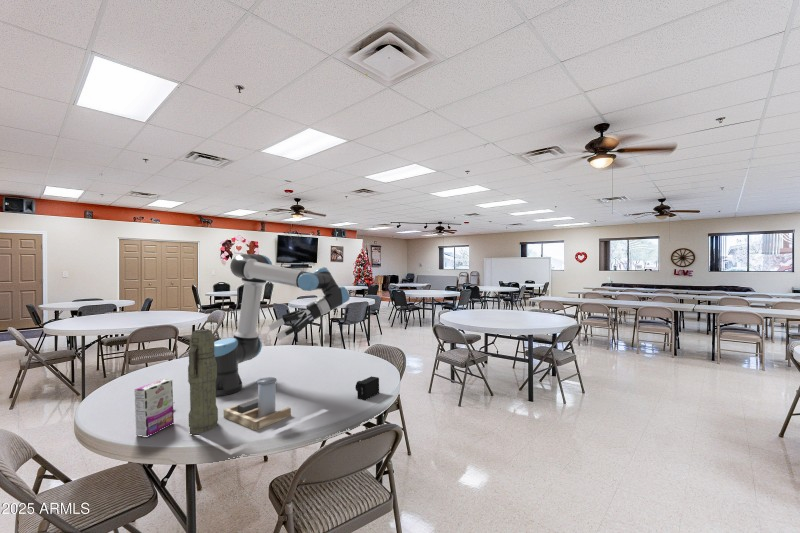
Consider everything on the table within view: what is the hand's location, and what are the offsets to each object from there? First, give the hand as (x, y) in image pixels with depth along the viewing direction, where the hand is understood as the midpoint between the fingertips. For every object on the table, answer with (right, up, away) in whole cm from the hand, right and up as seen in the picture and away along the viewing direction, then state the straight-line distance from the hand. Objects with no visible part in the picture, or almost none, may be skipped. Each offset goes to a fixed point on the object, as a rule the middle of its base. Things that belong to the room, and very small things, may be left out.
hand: (273, 332), depth 152 cm
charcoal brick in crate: (-3, -28, -16) cm, 32 cm away
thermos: (-15, -29, -27) cm, 43 cm away
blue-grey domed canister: (+5, -27, -21) cm, 35 cm away
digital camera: (+40, -29, +4) cm, 49 cm away
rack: (+1, -29, -19) cm, 35 cm away
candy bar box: (-32, -30, -27) cm, 51 cm away
